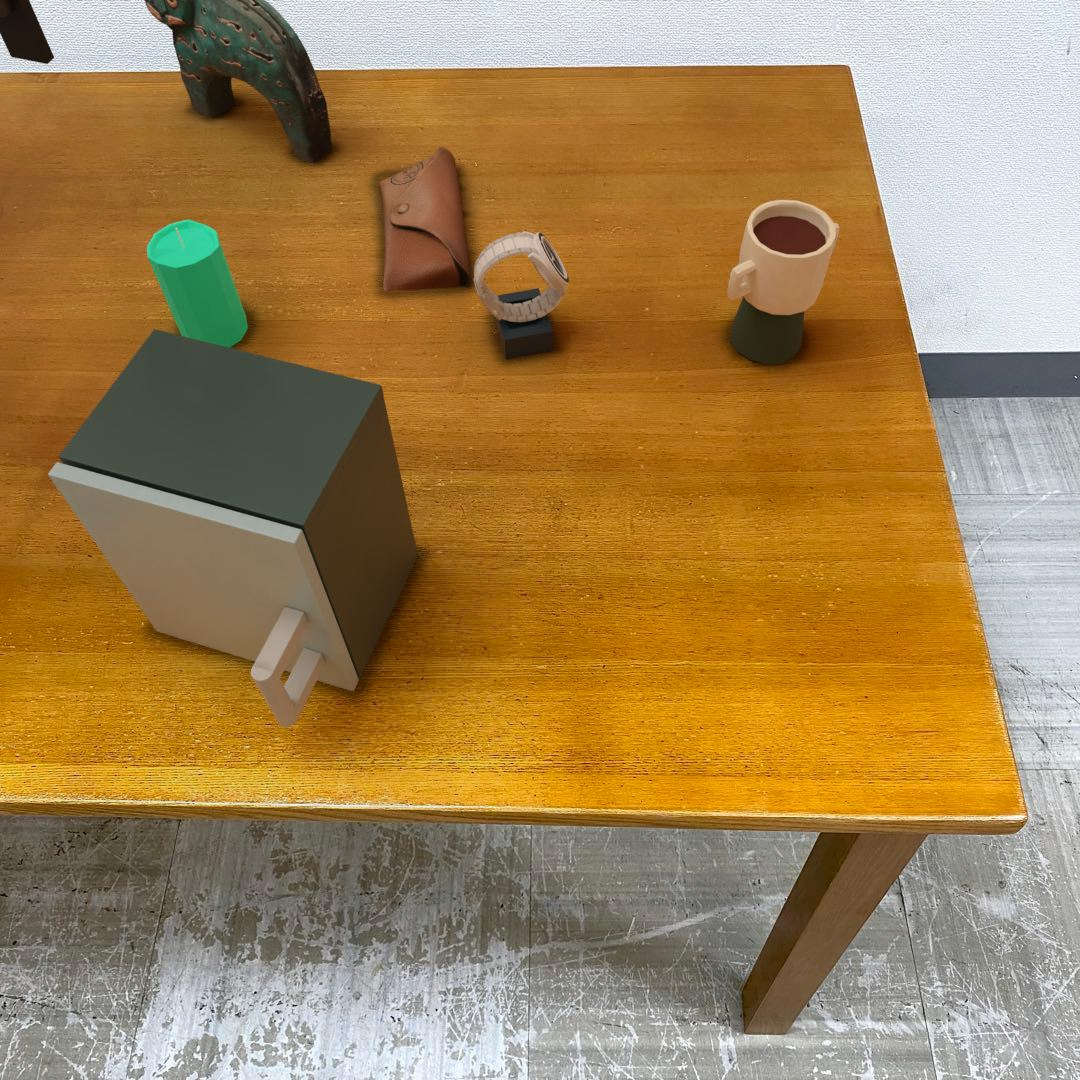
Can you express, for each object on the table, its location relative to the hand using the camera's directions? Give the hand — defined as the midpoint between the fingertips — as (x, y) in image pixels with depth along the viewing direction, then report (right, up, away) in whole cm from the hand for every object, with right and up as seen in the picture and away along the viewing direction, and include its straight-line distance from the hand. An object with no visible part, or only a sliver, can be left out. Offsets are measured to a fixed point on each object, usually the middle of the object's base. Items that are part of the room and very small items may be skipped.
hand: (88, 5), depth 68 cm
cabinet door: (+9, -46, +5) cm, 48 cm away
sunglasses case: (+19, -6, +33) cm, 38 cm away
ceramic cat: (0, +8, +42) cm, 43 cm away
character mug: (+50, -18, +24) cm, 58 cm away
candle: (+1, -17, +26) cm, 31 cm away
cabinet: (+11, -40, +10) cm, 42 cm away
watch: (+29, -18, +25) cm, 42 cm away
